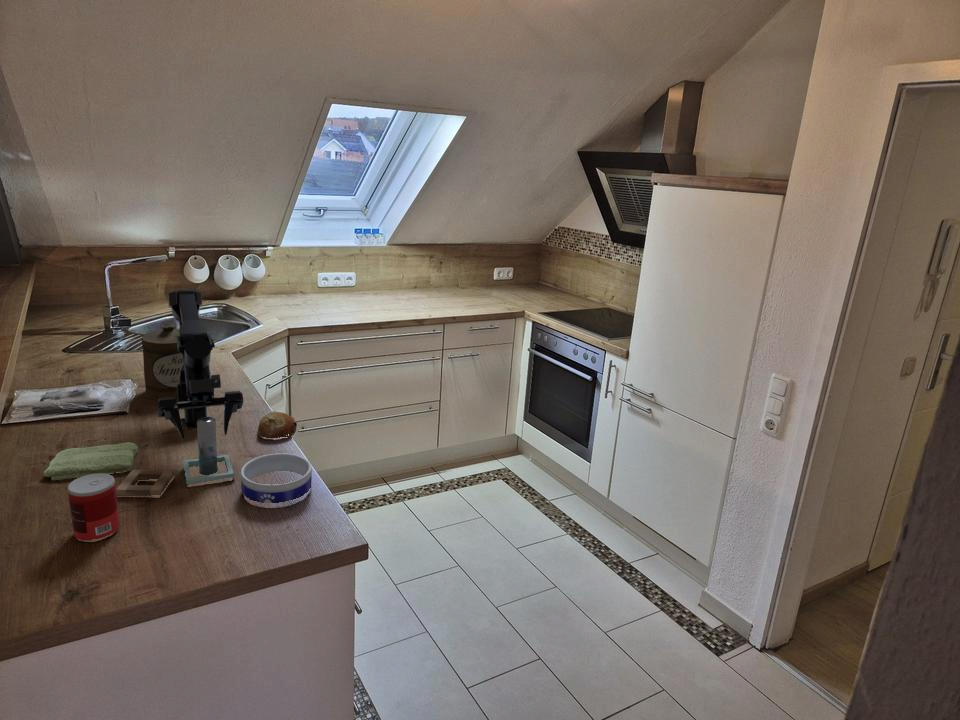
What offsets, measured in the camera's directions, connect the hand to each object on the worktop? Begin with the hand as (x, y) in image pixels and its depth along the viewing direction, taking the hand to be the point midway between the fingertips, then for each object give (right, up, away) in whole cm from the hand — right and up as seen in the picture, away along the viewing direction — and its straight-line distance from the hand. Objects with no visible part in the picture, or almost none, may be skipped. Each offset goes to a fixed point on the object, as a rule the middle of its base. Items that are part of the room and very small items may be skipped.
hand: (204, 437), depth 152 cm
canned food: (-10, -16, -25) cm, 31 cm away
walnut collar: (-10, -10, -8) cm, 16 cm away
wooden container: (-29, +8, +44) cm, 53 cm away
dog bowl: (+19, -12, -5) cm, 23 cm away
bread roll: (+10, -2, +23) cm, 25 cm away
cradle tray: (+1, -9, -1) cm, 9 cm away
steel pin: (+1, -8, -1) cm, 8 cm away
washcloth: (-26, -7, -1) cm, 27 cm away
